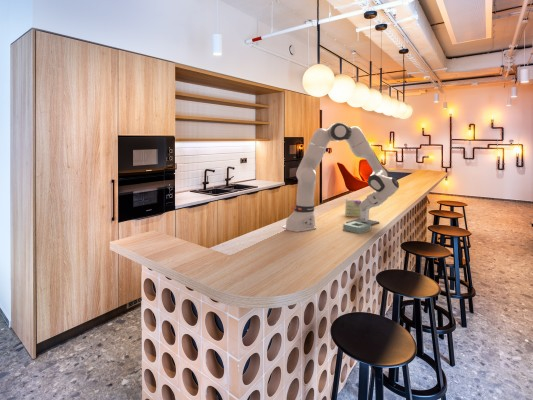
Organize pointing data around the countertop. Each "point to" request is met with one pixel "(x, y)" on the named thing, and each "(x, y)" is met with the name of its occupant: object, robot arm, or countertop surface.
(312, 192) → the robot arm
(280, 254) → the countertop surface
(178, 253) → the countertop surface
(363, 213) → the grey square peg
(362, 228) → the block
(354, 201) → the box
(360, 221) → the mat
